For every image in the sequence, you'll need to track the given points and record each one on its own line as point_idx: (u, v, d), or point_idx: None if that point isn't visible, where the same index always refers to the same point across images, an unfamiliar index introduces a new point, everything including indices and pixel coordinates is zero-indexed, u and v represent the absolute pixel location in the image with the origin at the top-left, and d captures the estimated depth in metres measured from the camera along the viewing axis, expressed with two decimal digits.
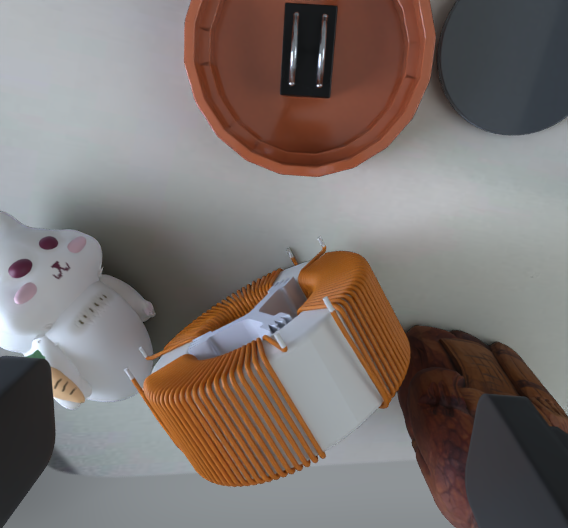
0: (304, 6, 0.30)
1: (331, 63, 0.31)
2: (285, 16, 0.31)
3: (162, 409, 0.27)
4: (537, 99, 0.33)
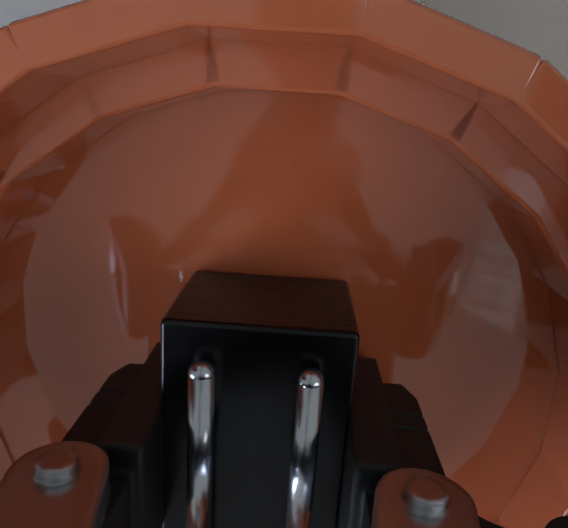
0: (233, 334, 0.08)
1: (335, 506, 0.09)
2: (164, 364, 0.08)
3: None
4: None
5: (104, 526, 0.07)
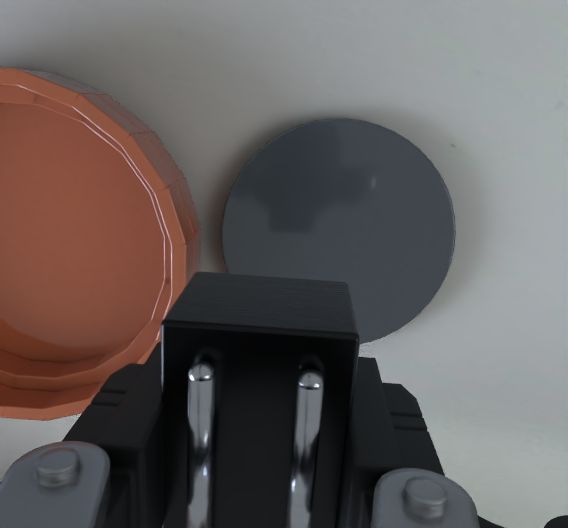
0: (233, 335, 0.08)
1: (335, 507, 0.09)
2: (164, 365, 0.08)
3: None
4: (362, 302, 0.24)
5: (105, 526, 0.07)
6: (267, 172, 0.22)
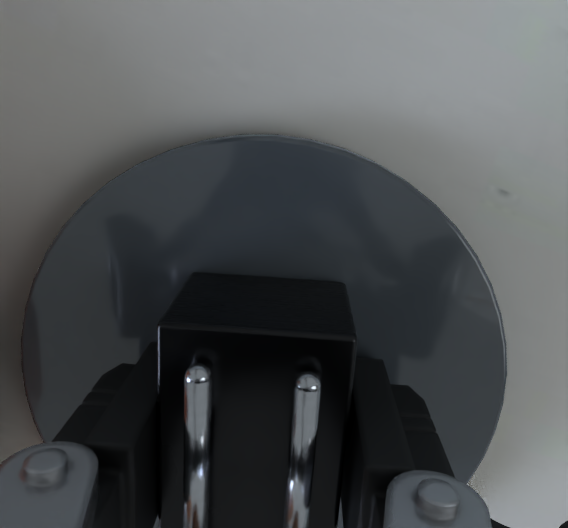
0: (230, 337, 0.08)
1: (333, 509, 0.09)
2: (161, 367, 0.08)
3: None
4: None
5: (93, 527, 0.07)
6: (106, 248, 0.10)
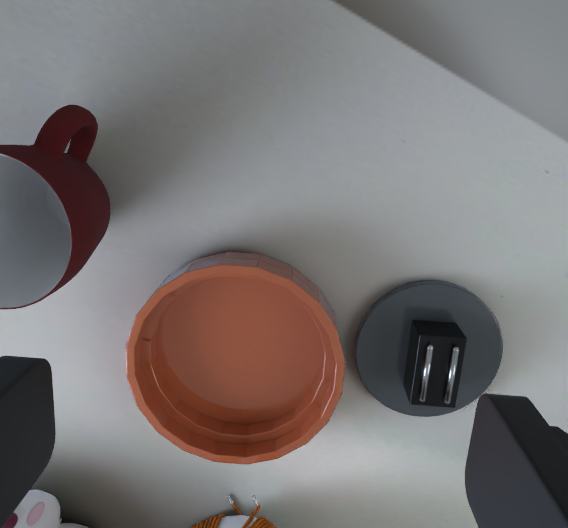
0: (437, 338, 0.34)
1: (458, 382, 0.35)
2: (419, 345, 0.34)
3: None
4: None
5: None
6: (387, 313, 0.36)
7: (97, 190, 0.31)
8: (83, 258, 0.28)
